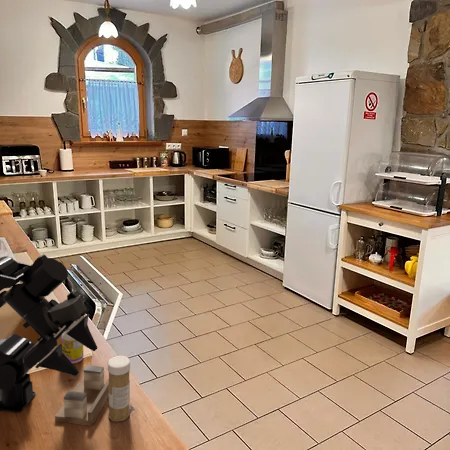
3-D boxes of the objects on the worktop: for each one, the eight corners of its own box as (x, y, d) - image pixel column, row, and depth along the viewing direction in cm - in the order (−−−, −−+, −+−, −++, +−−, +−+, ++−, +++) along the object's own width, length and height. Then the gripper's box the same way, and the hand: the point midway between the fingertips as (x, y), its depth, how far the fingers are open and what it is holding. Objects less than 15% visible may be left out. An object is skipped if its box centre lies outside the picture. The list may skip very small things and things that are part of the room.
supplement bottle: (58, 358, 110) (56, 323, 108) (76, 350, 114) (75, 316, 112) (69, 367, 107) (67, 331, 104) (87, 359, 111) (86, 323, 108)
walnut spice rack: (55, 420, 89) (53, 396, 87) (80, 385, 100) (79, 363, 99) (91, 425, 88) (91, 401, 87) (112, 389, 100) (112, 367, 98)
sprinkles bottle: (110, 408, 94) (109, 354, 90) (131, 408, 94) (131, 354, 91) (106, 423, 89) (105, 367, 86) (128, 422, 90) (128, 367, 86)
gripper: (34, 305, 76) (94, 366, 78) (79, 269, 94) (128, 319, 96) (-4, 340, 79) (55, 397, 81) (47, 297, 97) (95, 346, 99)
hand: (87, 361), depth 89 cm, fingers open, 9 cm apart
